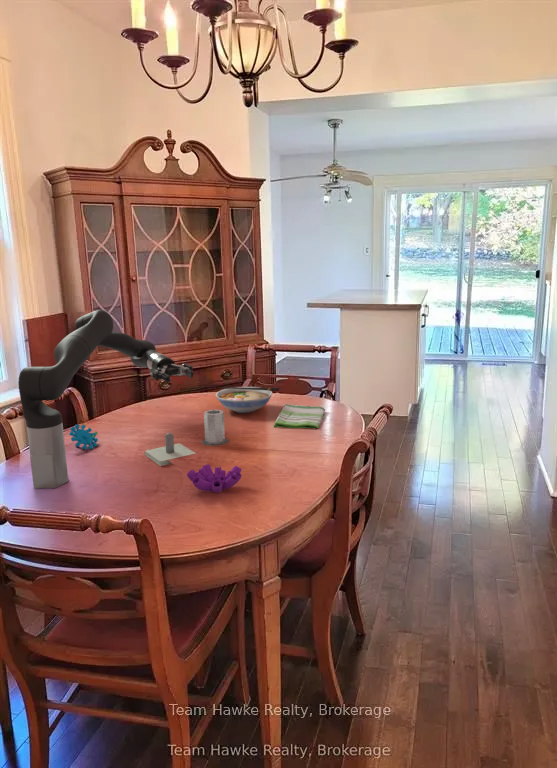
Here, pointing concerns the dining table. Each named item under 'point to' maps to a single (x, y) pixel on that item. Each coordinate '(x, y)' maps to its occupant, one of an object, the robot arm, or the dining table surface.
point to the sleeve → (214, 426)
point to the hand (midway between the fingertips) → (180, 377)
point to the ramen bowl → (244, 398)
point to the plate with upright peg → (168, 451)
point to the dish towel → (299, 416)
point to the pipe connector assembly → (214, 478)
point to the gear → (83, 437)
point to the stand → (215, 444)
